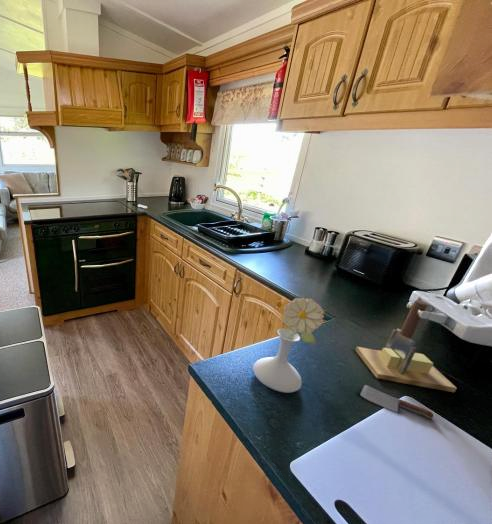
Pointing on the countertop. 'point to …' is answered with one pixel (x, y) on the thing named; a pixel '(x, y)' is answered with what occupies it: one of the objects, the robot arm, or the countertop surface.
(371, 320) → the countertop surface
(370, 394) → the cleaver
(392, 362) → the butter slice
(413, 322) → the knife
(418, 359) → the butter block
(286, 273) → the countertop surface
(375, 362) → the butter board
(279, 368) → the flower in vase
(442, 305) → the robot arm
